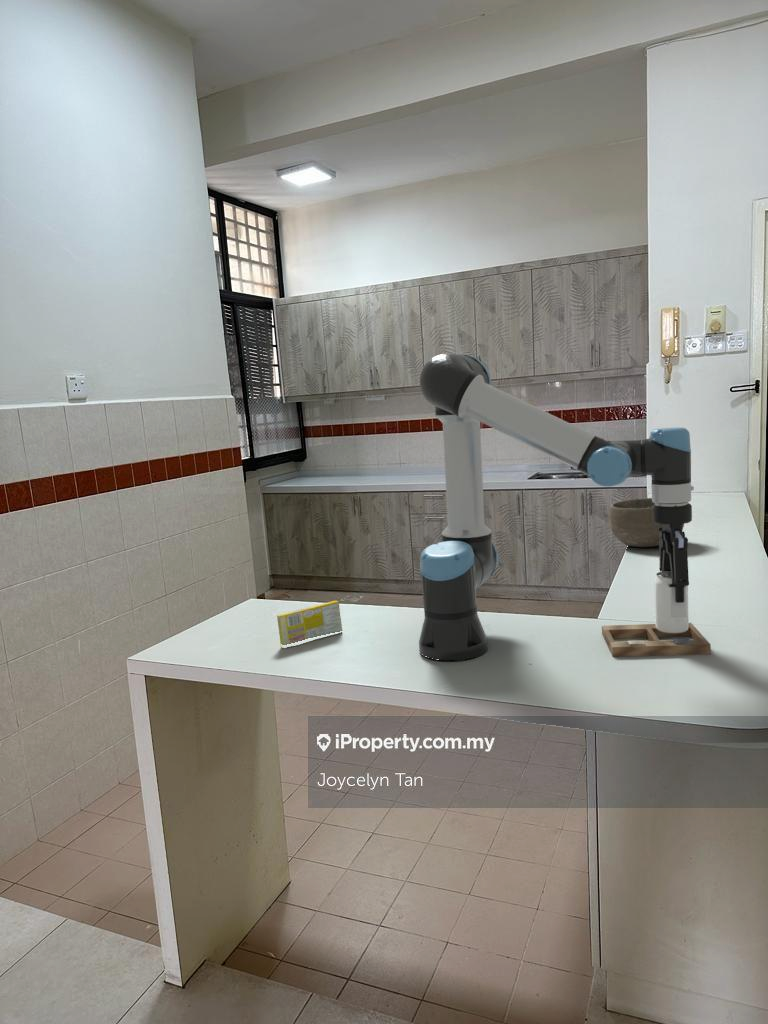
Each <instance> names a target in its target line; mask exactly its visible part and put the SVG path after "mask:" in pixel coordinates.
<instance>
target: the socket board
mask: <svg viewBox="0 0 768 1024" xmlns="http://www.w3.org/2000/svg"><path fill="white" fill-rule="evenodd" d="M601 635H602V637H603V639H604V641H605V644H606V645H607V648H608V650H609V652H610V654H611V656H612V657H613V658H614V657H639V656H641V657H643V656H645V657H648V656H674V655H675V656H679V655H680V656H682V655H709V654H711V652H712V651H711V650H712V649H711V643H710V642H709V641H708V639H706V637H705V636H704V635H703V634H702V633H701V632H700V630H699V629H698V628H696V627H695V625H694V623H692V622H689V628H688V630H687V631H686V632H684V633H680V634H668V633H663V632H660V631H658V630H657V629H656V624H655V623H647V624H646V623H644V624H643V623H641V624H640V623H639V624H620V625H619V624H618V625H617V624H615V625H601ZM668 637H669V638H671V637H672V638H673V637H675V638H674V639H672V640H668V639H667V640H660V639H659V638H668ZM677 637H691V639H690V638H677ZM635 638H636V639H635ZM637 638H638V640H637ZM639 638H641V640H639ZM642 638H646V639H647V640H643V639H642ZM615 639H635V640H627V641H615Z"/></svg>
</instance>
